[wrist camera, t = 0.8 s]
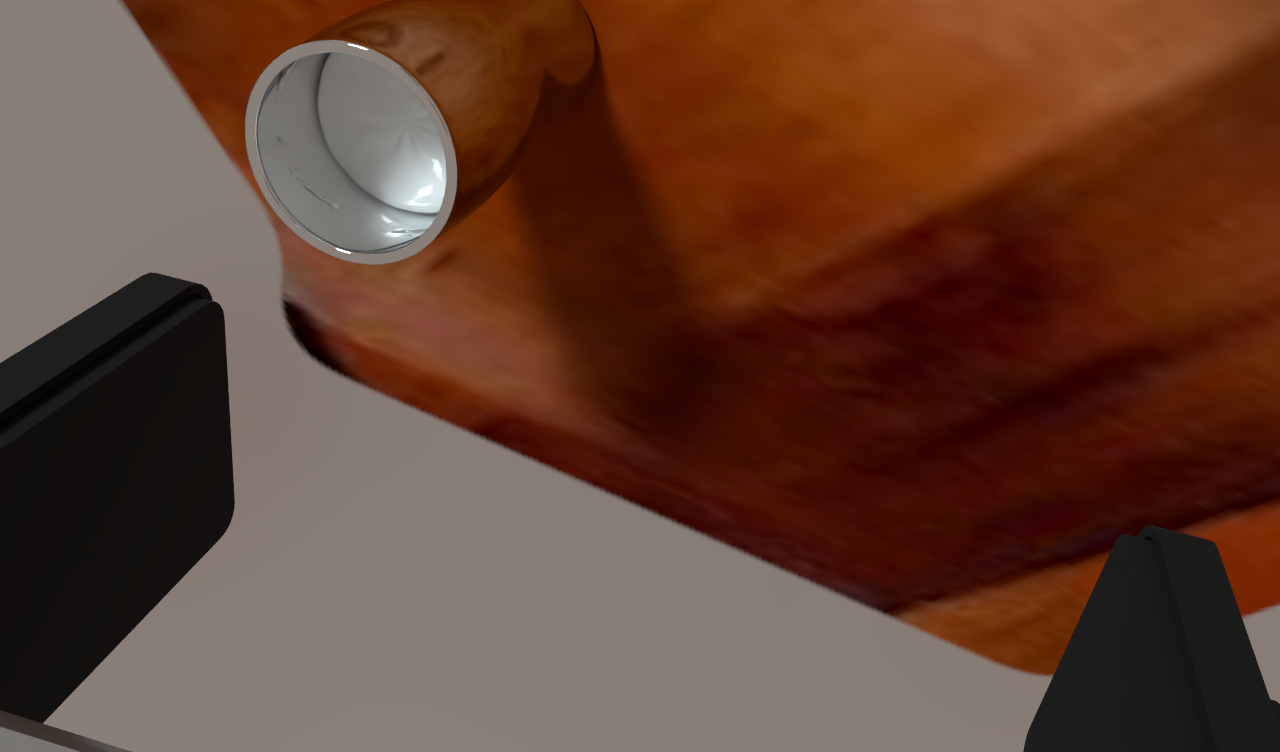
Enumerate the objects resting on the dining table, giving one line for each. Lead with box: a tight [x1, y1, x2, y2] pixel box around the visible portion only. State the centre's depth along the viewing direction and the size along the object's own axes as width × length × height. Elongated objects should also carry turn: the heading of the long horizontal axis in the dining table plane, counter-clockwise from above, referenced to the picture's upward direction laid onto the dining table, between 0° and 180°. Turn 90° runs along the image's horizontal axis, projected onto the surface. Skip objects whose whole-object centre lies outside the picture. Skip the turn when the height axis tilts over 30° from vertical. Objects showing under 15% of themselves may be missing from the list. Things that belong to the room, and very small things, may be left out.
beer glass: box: [245, 0, 596, 264], centre depth 38 cm, size 7×7×15 cm
